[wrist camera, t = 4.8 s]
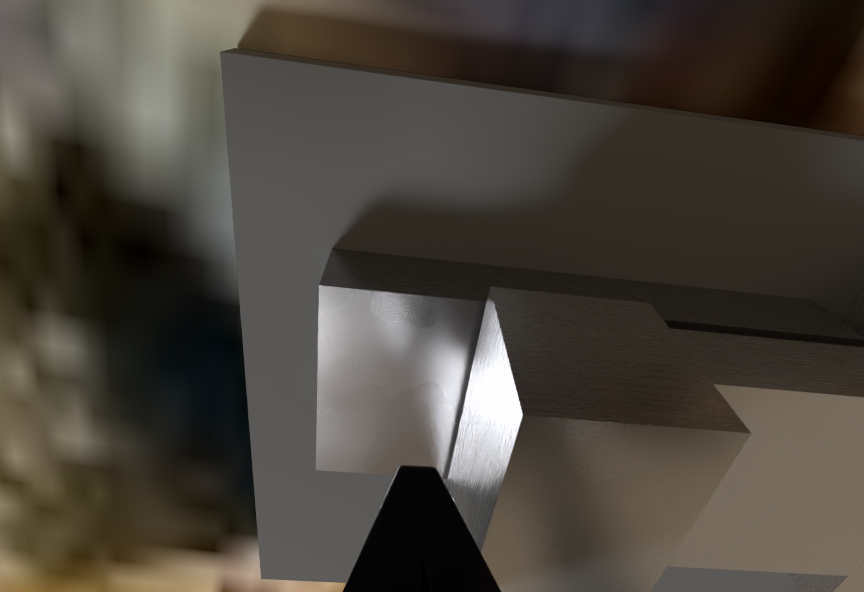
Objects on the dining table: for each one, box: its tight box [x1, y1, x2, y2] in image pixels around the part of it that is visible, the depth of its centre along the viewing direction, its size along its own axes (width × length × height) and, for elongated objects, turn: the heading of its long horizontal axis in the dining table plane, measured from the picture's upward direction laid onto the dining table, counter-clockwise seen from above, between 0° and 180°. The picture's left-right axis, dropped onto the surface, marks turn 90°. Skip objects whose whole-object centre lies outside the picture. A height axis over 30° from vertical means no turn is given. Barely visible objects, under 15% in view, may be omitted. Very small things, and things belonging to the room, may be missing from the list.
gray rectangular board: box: [220, 48, 864, 592], centre depth 14 cm, size 16×30×1 cm, turn 83°
